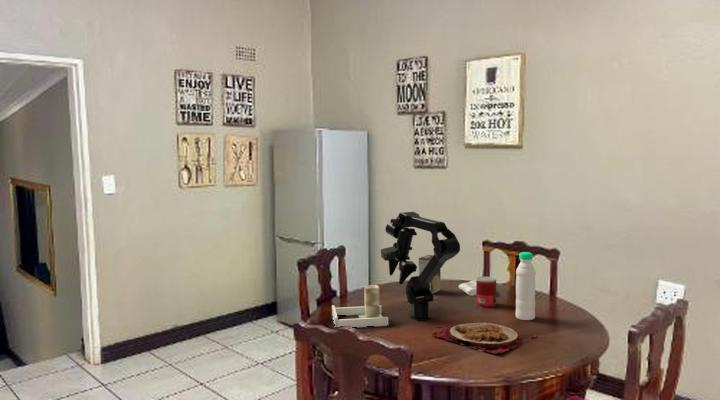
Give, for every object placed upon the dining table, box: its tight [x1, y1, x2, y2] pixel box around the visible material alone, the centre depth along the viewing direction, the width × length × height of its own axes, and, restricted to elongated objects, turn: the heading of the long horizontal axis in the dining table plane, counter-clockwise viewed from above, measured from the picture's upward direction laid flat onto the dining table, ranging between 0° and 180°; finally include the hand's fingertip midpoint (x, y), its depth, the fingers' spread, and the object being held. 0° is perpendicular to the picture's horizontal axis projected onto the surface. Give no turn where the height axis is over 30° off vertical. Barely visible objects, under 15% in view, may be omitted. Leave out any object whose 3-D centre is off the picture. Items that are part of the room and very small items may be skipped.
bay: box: [331, 304, 389, 328], centre depth 202 cm, size 20×16×4 cm
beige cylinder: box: [363, 284, 380, 318], centre depth 202 cm, size 5×5×12 cm
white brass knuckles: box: [458, 279, 476, 297], centre depth 240 cm, size 3×18×15 cm
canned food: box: [475, 276, 497, 308], centre depth 219 cm, size 8×8×11 cm
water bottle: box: [515, 251, 536, 321], centre depth 200 cm, size 7×7×25 cm
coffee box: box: [418, 254, 442, 295], centre depth 241 cm, size 9×6×16 cm
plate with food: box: [431, 321, 538, 354], centre depth 182 cm, size 25×26×4 cm
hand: (395, 279), depth 213 cm, fingers open, 9 cm apart
